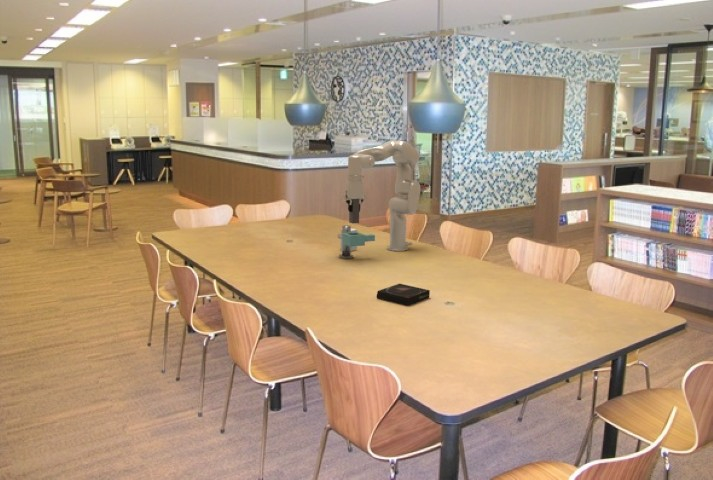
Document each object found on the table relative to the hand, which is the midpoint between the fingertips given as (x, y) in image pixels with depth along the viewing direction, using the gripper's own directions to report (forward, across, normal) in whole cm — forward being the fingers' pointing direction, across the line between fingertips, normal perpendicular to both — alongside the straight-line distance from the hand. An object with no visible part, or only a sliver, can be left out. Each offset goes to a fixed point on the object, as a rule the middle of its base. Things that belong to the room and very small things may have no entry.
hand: (354, 211), depth 341 cm
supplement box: (+28, -10, -25) cm, 39 cm away
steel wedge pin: (+6, 0, 0) cm, 6 cm away
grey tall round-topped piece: (+27, 0, -9) cm, 29 cm away
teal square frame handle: (+18, -4, 0) cm, 19 cm away
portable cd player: (+28, +13, +74) cm, 80 cm away
